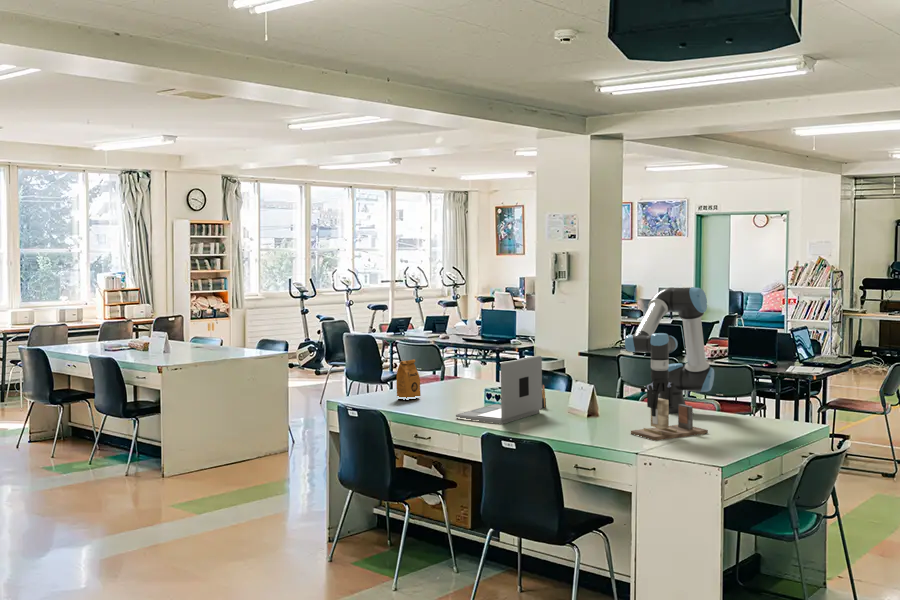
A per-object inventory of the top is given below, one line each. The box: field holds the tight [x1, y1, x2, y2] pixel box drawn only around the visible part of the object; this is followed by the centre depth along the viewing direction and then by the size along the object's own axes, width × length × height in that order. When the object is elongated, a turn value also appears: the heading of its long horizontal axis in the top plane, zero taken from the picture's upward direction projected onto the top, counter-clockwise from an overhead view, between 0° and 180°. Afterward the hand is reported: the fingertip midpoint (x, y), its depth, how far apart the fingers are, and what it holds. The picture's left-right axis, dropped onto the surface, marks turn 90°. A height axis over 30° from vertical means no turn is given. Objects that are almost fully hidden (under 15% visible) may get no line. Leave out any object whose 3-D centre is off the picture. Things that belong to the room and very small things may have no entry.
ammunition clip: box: [542, 384, 547, 409], centre depth 463 cm, size 11×2×12 cm, turn 44°
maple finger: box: [650, 398, 670, 429], centre depth 386 cm, size 4×7×12 cm, turn 26°
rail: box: [630, 404, 709, 441], centre depth 389 cm, size 29×16×12 cm, turn 116°
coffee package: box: [395, 359, 422, 398], centre depth 493 cm, size 10×12×22 cm
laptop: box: [455, 355, 543, 425], centre depth 438 cm, size 36×28×29 cm
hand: (660, 423), depth 386 cm, fingers closed on maple finger, 4 cm apart
